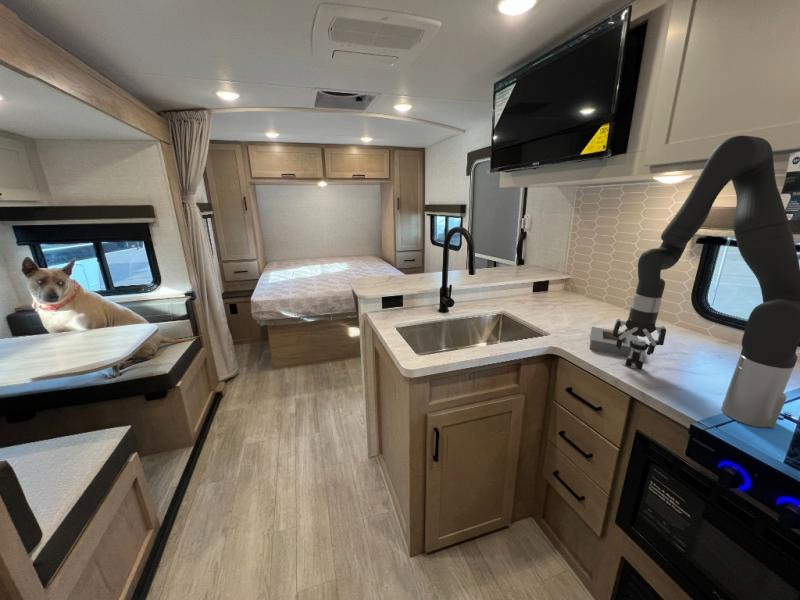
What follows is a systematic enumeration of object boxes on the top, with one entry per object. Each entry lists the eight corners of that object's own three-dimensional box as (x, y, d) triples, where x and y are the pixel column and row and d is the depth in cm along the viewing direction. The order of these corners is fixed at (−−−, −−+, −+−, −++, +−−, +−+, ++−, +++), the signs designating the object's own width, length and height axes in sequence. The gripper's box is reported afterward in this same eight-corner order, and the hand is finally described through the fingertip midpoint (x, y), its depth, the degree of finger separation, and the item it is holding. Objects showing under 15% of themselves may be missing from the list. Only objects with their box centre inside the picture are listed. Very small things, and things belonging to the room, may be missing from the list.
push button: (618, 365, 113) (624, 339, 110) (621, 360, 117) (627, 335, 114) (641, 372, 109) (648, 345, 106) (644, 366, 112) (650, 340, 109)
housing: (634, 343, 131) (636, 334, 130) (639, 358, 118) (641, 349, 116) (590, 335, 139) (591, 326, 137) (589, 349, 125) (591, 339, 124)
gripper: (620, 307, 106) (610, 350, 112) (674, 315, 100) (660, 360, 105) (619, 301, 113) (609, 342, 118) (669, 308, 106) (657, 351, 111)
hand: (633, 351), depth 111 cm, fingers open, 8 cm apart
